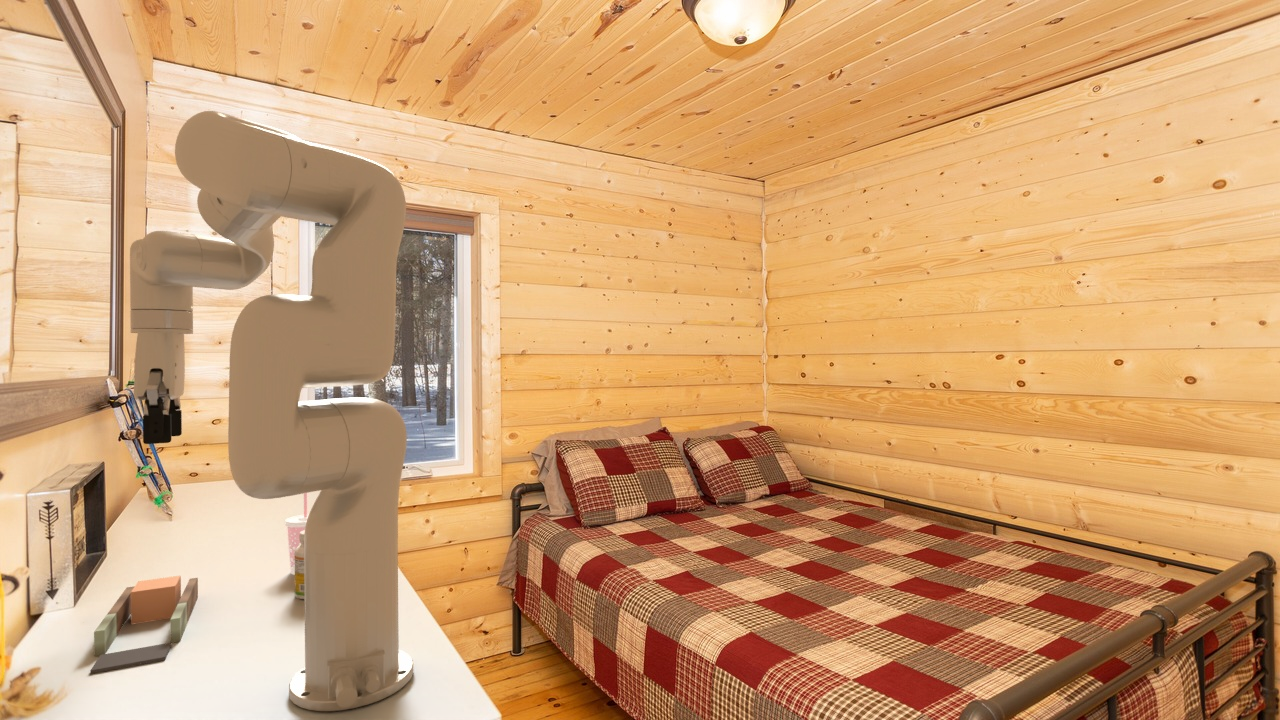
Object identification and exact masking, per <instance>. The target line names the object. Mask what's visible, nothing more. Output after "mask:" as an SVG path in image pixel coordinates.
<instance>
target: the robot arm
mask: <svg viewBox="0 0 1280 720" xmlns="http://www.w3.org/2000/svg"><path fill="white" fill-rule="evenodd" d="M174 155H175V156H174V157H175V163H176V167H177V168H178V171H179V172H180V173H181V175H182V176H183V177H184V179H186V180H187V181H188V182H189V183H190V184H192V185H194V186H195V187H196V188H198V189H200V191H199V192H198V195H197V202H196V204H197V209H198V212H199V214H200V216H201V218H202V219H203V221H204V222H205V223H206V224H207V226H209V228H211V229H212V230H213V231H214V232H215V233H217V234H218V235H219V236H221V237H223V238H221V237H215V236H208V235H201V234H193V233H185V232H177V231H168V230H156V231H151V232H149V233H147V234H146V235H145V236H144V237H143V238H139V239H136V240H135V241H133V242H132V243H131V245H130V247H129V285H130V287H129V288H130V290H129V291H130V293H129V295H130V300H129V301H130V308H129V309H130V311H129V312H130V315H129V318H130V328H129V329H130V333H131V334H137V335H136V342H135V343H136V344H135V355H134V356H135V357H134V377H133V378H134V380H133V398H134V399H135V400H137V401H138V402H140V401H141V402H142V401H144V405H143V415H142V442H143V444H144V445H150V444H151V445H154V444H155V445H156V444H169V443H171V442H172V437H179V436H181V435H182V434H183V433H182V431H183V429H182V428H183V427H182V426H183V425H182V421H183V420H182V417H183V416H182V409H181V397H182V396H183V395H184V392H185V375H186V374H185V371H186V368H185V366H186V365H185V364H186V361H185V359H186V357H185V352H186V351H185V335H191V334H192V335H193V334H194V307H193V306H194V302H193V301H194V294H193V290H194V289H193V288H202V289H217V290H226V291H227V290H228V291H233V290H239V289H243V288H245V287H248V286H249V285H250V284H252V283H253V282H255V281H256V280H257V279H258V278H259V277H260V276H261V275H262V274H264V273H265V271H266V270H267V269H268V268H269V266H270V264H271V262H272V259H273V254H274V249H275V237H274V234H273V229H272V226H273V225H274V224H275V223H276V222H277V221H278V220H279V219H280V218H281V217H283V218H287V219H293V220H298V221H305V222H310V223H311V222H313V223H319V224H324V225H329V226H332V227H331V228H330V229H329V230H328V231H327V232H326V234H325V235H324V236H323V238H322V239H321V240H320V241H319V243H318V245H317V246H316V248H315V251H314V253H313V258H312V265H311V266H312V267H311V280H312V281H311V289H310V290H311V291H310V295H300V294H299V295H297V294H285V293H284V294H282V293H281V294H280V293H279V294H278V293H276V294H266V295H263V296H258V297H257V298H254V299H253V300H251V301H250V302H248V303H247V304H246V305H245V306H244V307H243V309H242V310H241V311H240V313H239V315H238V317H237V319H236V321H235V323H234V326H233V330H232V332H231V333H232V334H231V338H230V339H231V340H230V349H229V373H228V375H229V383H228V426H227V427H228V429H227V431H228V433H227V434H228V436H227V437H228V438H227V439H228V441H227V442H228V449H227V451H228V461H229V467H230V472H231V475H232V478H233V481H234V483H235V485H236V486H237V487H238V489H239V490H240V491H241V492H242V493H243V494H244V495H247V496H248V497H251V498H254V499H260V500H272V499H273V500H274V499H281V498H286V497H292V496H297V495H304V493H307V494H308V493H315V492H319V491H320V492H319V493H318V496H317V497H316V499H315V501H314V503H313V505H312V507H311V509H310V511H309V513H308V514H309V516H308V519H307V522H306V526H305V534H304V593H305V599H304V667H303V668H301V669H300V670H299V671H297V672H296V673H295V674H294V676H293V677H292V678H291V679H290V682H289V685H288V689H289V690H288V691H289V692H288V695H289V696H288V697H289V699H290V701H291V702H292V703H293V704H294V705H296V706H298V707H300V708H302V709H305V710H309V711H314V712H315V711H316V712H336V711H338V712H339V711H346V710H350V709H355V708H359V707H363V706H369V705H370V704H374V703H376V702H379V701H382V700H383V699H386V698H387V697H390V696H392V695H394V694H395V693H397V692H399V691H400V690H401V689H402V688H403V687H405V686H406V685H407V684H408V682H409V681H411V679H412V677H413V674H414V660H413V658H412V657H411V655H409V654H408V653H406V652H405V651H403V650H400V649H399V647H400V646H399V645H400V644H399V643H400V642H399V641H400V640H399V637H400V636H399V554H398V553H399V552H398V551H399V549H398V544H399V497H400V487H401V486H400V485H401V479H402V472H403V469H404V468H403V467H404V463H405V458H406V451H407V442H408V440H407V439H408V435H407V434H408V433H407V428H406V427H407V426H406V423H405V421H404V419H403V416H402V415H401V414H400V412H399V411H398V410H397V409H396V408H395V407H394V406H393V405H391V404H389V403H388V402H385V401H383V400H380V399H376V398H370V397H342V398H341V397H339V398H338V397H337V398H327V399H323V398H322V399H315V400H300V396H301V392H302V390H303V389H311V388H315V389H316V388H333V387H350V386H361V385H362V386H363V385H368V384H369V385H370V384H372V383H375V382H378V381H380V380H382V379H384V378H385V377H386V376H387V375H388V373H389V372H390V370H391V368H392V365H393V361H394V355H395V341H396V309H397V308H396V307H397V306H396V305H397V264H398V263H397V262H398V256H399V250H400V246H401V242H402V238H403V234H404V229H405V224H406V217H407V203H406V196H405V192H404V189H403V187H402V185H401V182H400V180H398V177H396V175H395V174H394V173H393V172H392V171H391V170H389V169H388V168H387V167H385V166H383V165H382V164H379V163H377V162H375V161H373V160H370V159H367V158H365V157H362V156H360V155H356V154H353V153H349V152H346V151H343V150H339V149H337V148H333V147H329V146H326V145H321V144H318V143H312V142H309V141H307V140H306V141H305V140H302V139H301V138H299V137H297V136H296V135H294V134H291V133H289V132H287V131H284V130H282V129H278V128H275V127H272V126H269V125H265V124H262V123H258V122H254V121H251V120H247V119H244V118H242V117H238V116H235V115H232V114H231V115H230V114H227V113H225V112H220V111H216V110H205V111H201V112H197V113H196V114H194V115H192V116H191V117H190V118H188V119H187V120H186V121H185V123H184V124H183V125H182V127H181V128H180V130H179V132H178V133H177V136H176V140H175V144H174Z"/></svg>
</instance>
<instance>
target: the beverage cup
mask: <svg viewBox="0 0 1280 720" xmlns="http://www.w3.org/2000/svg"><path fill="white" fill-rule="evenodd" d="M308 516H309V513H308V493H303V514H300V515H299V514H298V515H294V516H291V517H288V518H286V519H285V520H284V523H285V526H286V530H287V542H288V553H289V555H288V556H289V566H290V568H289V569H290V573H291V575H294V576H295V549H296V548H297V547H298V546H299V545H301V542H300V540H299V536H300V532H301V531H303V530H305V526H306V522H307V519H308Z"/></svg>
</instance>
